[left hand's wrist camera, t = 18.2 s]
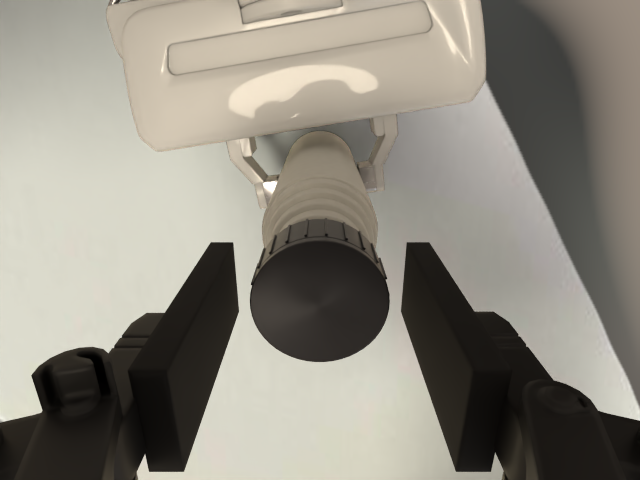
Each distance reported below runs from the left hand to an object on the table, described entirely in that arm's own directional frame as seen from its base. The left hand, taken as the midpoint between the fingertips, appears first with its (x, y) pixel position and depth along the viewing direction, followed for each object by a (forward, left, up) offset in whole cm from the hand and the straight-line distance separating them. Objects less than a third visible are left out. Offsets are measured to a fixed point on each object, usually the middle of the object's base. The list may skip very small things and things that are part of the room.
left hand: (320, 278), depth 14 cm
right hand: (-1, 0, -13) cm, 13 cm away
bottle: (0, 0, -20) cm, 20 cm away
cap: (0, 0, +2) cm, 2 cm away
